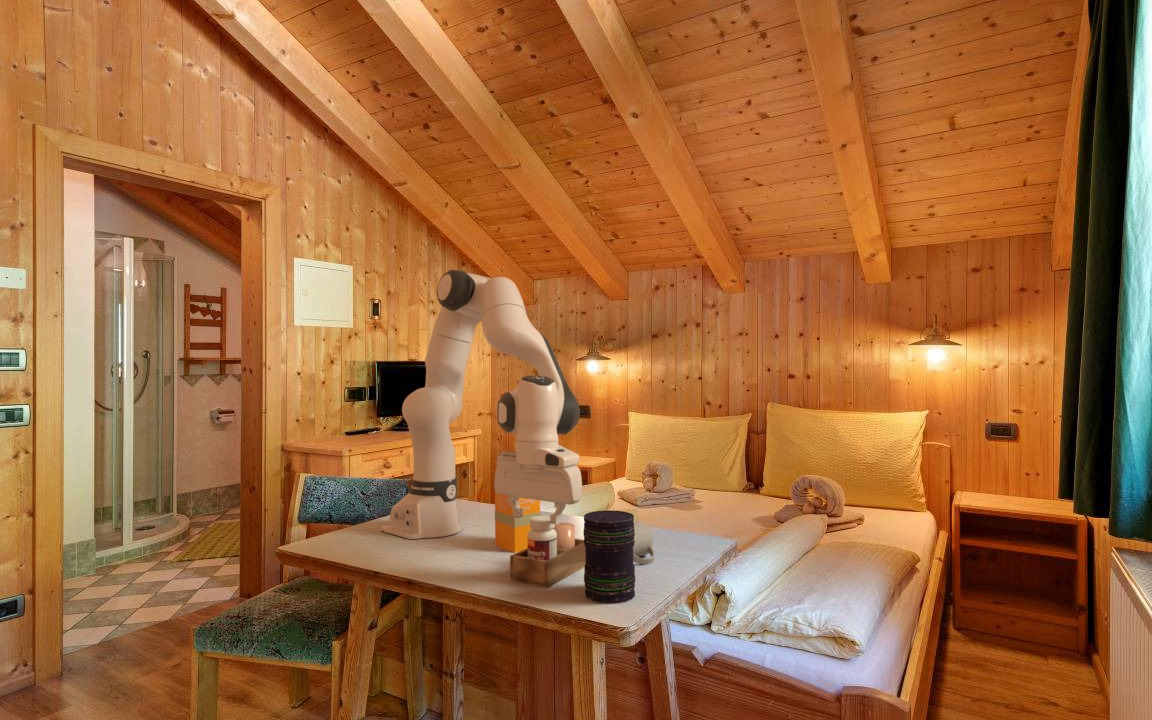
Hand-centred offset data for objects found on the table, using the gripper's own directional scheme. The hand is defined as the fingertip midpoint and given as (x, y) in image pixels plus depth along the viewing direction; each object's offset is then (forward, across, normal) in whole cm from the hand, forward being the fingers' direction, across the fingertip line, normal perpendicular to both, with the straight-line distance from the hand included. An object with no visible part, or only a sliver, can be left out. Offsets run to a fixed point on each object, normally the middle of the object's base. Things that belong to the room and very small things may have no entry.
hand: (536, 520), depth 129 cm
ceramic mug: (+12, +12, +22) cm, 28 cm away
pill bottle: (+11, +1, +1) cm, 11 cm away
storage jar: (+12, +18, -1) cm, 21 cm away
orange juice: (+12, -17, +17) cm, 28 cm away
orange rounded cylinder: (+11, +1, +9) cm, 14 cm away
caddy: (+12, +1, +5) cm, 13 cm away
